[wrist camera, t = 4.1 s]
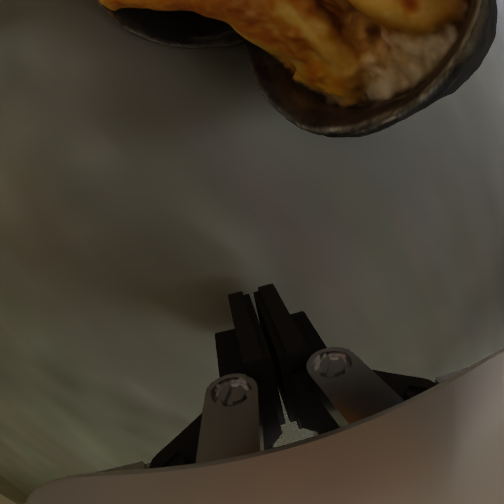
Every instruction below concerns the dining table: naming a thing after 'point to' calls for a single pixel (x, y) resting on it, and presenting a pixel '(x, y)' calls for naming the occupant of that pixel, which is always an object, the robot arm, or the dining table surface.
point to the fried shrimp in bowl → (332, 51)
